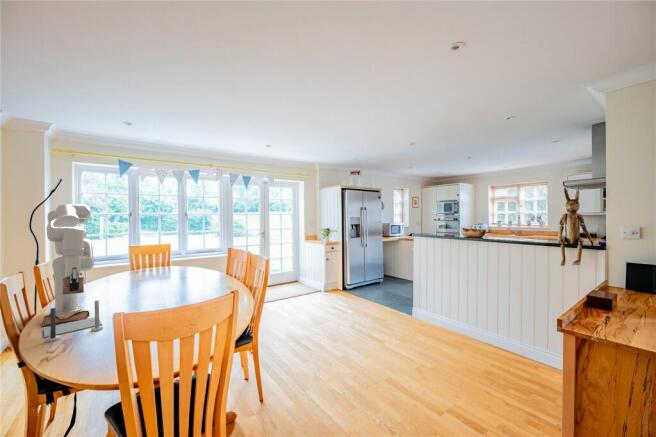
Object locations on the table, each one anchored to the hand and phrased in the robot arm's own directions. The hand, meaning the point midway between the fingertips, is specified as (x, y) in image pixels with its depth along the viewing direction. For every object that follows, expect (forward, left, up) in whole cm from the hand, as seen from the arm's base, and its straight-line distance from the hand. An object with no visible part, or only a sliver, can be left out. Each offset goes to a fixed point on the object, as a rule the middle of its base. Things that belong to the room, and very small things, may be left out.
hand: (73, 289), depth 133 cm
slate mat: (0, 0, -19) cm, 19 cm away
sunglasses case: (-12, -2, -19) cm, 23 cm away
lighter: (0, 0, -2) cm, 2 cm away
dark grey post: (+12, -7, -19) cm, 24 cm away
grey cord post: (+12, +8, -19) cm, 23 cm away
